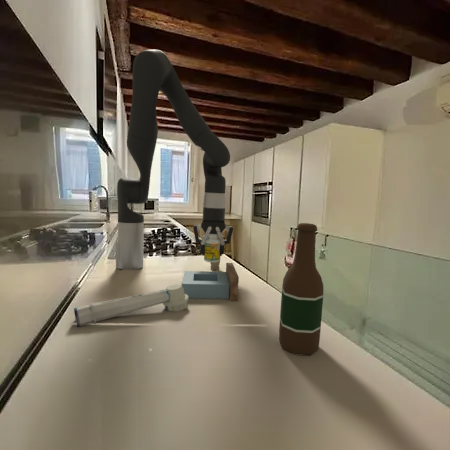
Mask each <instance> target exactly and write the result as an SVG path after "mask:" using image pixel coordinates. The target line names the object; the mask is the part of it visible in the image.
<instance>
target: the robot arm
mask: <svg viewBox="0 0 450 450" xmlns="http://www.w3.org/2000/svg"><path fill="white" fill-rule="evenodd" d="M160 91H161V92H162V93H163V94H164V95H165V97H166V99H167V100H168V102H169V103H170V106H171V107H172V109H173V112H174V114H175V115H176V118H177V120H178V122H179V125H180V126H181V128H182V129H183V131H184V133H185V134H186V135H187V137H188V138H189V139H190V140H191V142H192V143H193V144H194V145H195V146H196V147H199V148H201V150H202V151H203V152H204V153H203V157H202V167H203V174H204V193H203V203H202V222H201V224H194V225H193V234H194V240H195V243H196V244H200V250H199V252H200V254H201V255H202V256H204V252H205V241H206V239H208V238H207V237H208V235H209V234H218V237H219V240H220V257H222V256H223V255H224V253H225V245H229V244H230V243H231V239H232V235H233V233H234V232H233V231H234V226H231V225H230V226H229V225H226V224H225V220H226V203H227V201H226V188H227V187H226V180H227V179H226V177H224V176H223V173H222V172H223V171H222V170H223V169H222V168H224V167H227V165H229V163H230V161H231V153H230V151H229V148H228V147H227V146H226V145H225V143H224V142H223V141H222V139H220V137H218V136H217V135H216V134H215V133H214V132H213V131H212V130H211V128H210V127H209V125H208V123H206V121H205V119H204V118H203V116H202V115H201V113H200V112H199V111H198V109H197V108H196V106H195V105H194V102H193V101H192V100H191V98H190V96H189V95H188V93H187V91H186V89H185V88H184V86H183V85H182V82H181V81H180V78H179V76H178V74H177V72H176V71H175V68H174V66H173V64H172V62H171V61H170V59H169V56H167V54H166V53H165V52H163V51H162V50H160V49H155V48H154V49H153V48H152V49H145V50H142V51H140V52H139V53H138V54H136V56H135V57H134V59H133V63H132V96H131V97H132V98H131V106H130V114H129V121H128V122H129V123H128V127H127V136H126V137H127V139H126V147H127V149H128V153H129V154H130V156H131V157H132V159H133V161H134V162H135V164H136V166H137V169H138V171H139V174H140V176H139V178H130V177H128V178H127V177H121V178H119V179H118V180H117V184H116V185H117V186H116V194H117V242H115V269H118V270H123V271H124V270H128V271H129V270H130V271H131V270H139V269H142V268H143V267H144V238H145V237H144V232H145V231H144V228H145V227H144V226H145V222H144V221H145V216H144V215H143V213H141V212H140V213H139V212H137V211H134V210H133V209H131V208H130V207H129V205H134V204H135V205H137V204H138V205H140V204H141V205H142V204H145V203H146V202H147V201H148V198H149V192H150V186H151V184H150V183H151V173H152V172H151V171H152V166H153V161H154V156H155V150H156V146H157V140H158V134H159V131H158V130H159V126H158V125H159V124H158V118H157V102H158V98H159V94H160ZM128 204H129V205H128ZM200 229H202V230H203V232H204V233H203V235H202V238H201V239H200V236H199V232H200ZM225 230H226V232H227V234H226V238H225V239H224V237H223V236H222V235H221V233H222V232H223V231H225Z"/></svg>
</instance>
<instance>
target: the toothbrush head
mask: <svg viewBox="0 0 450 450" xmlns="http://www.w3.org/2000/svg"><path fill="white" fill-rule="evenodd" d="M189 299H190V298H189V296H188V295H187V294H185V293H184V289H183V287H182V284H173V285H172V284H171V285H168V286H167V287H166V288H165V289H162V290H155V291H150V292H146V293H141V294H135V295H130V296H125V297H120V298H114V299H109V300H104V301H97V302H93V301H91V302H90V304H86V305H81V306H77V307H74V308H73V313H74V319H75V324H76V327H82V326H87V325H91V324H95V325H96V324H97V322H101V321H104V320H108V319H112V318H115V317H119V316H122V315H125V314H130V313H133V312H136V311H139V310H143V309H147V308H151V307H153V306H157V305H164V309H165V310H166V311H169V312H182V311H183V310H185V309H186V310H187V309H188V307H189V306H188V301H189Z"/></svg>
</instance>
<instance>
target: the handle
mask: <svg viewBox="0 0 450 450" xmlns="http://www.w3.org/2000/svg"><path fill="white" fill-rule="evenodd" d="M221 235H222V237H223V236H224V235H225V230H223V232H222V233H221ZM218 240H219V237H218ZM220 263H221V258H220V259H219V261H218V262H209V264H210V270H213V271H218V270H219V269H220Z"/></svg>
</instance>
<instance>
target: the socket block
mask: <svg viewBox="0 0 450 450" xmlns="http://www.w3.org/2000/svg"><path fill="white" fill-rule="evenodd" d="M181 286H182V287H183V289H184V293H185V294H187V295H188V296H189V299H205V300H206V299H214V300H215V299H216V300H230V299H229V287H230V284H229V281H228V278H227V274H226V271H206V270H205V271H203V270H202V271H200V270H197V271H196V270H184V273H183V276H182V281H181Z"/></svg>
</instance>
